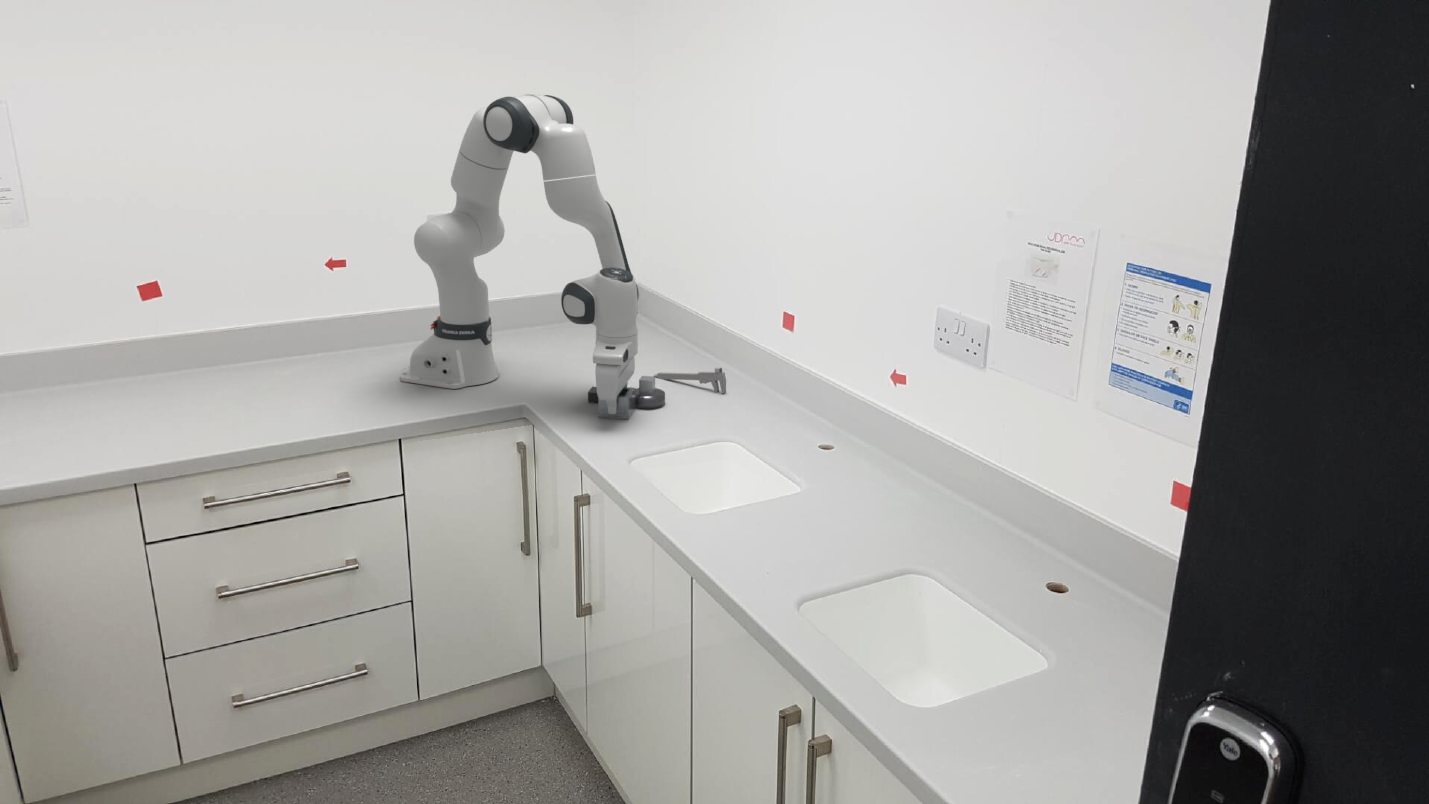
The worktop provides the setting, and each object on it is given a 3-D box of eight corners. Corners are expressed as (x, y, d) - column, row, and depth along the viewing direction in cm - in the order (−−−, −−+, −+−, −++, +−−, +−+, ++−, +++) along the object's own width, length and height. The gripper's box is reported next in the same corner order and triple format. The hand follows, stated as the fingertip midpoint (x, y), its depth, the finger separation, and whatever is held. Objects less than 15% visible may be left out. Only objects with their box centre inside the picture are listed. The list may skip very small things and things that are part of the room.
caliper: (726, 394, 252) (727, 368, 250) (723, 395, 251) (724, 369, 249) (655, 376, 263) (655, 351, 261) (652, 378, 262) (653, 352, 260)
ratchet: (668, 399, 247) (668, 374, 245) (661, 411, 240) (661, 385, 238) (594, 393, 249) (594, 368, 247) (585, 405, 242) (585, 379, 240)
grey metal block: (598, 417, 235) (598, 395, 233) (606, 407, 241) (605, 385, 239) (628, 419, 234) (628, 397, 232) (635, 409, 240) (635, 388, 238)
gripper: (613, 331, 242) (614, 390, 247) (590, 358, 223) (591, 421, 228) (641, 333, 242) (641, 392, 246) (620, 360, 222) (620, 423, 227)
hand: (617, 406), depth 237 cm, fingers closed on grey metal block, 7 cm apart
